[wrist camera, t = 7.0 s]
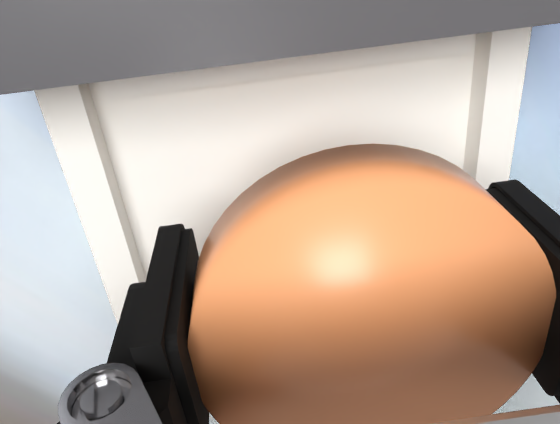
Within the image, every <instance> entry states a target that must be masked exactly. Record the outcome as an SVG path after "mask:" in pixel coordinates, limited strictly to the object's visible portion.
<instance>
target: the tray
mask: <svg viewBox="0 0 560 424" xmlns="http://www.w3.org/2000/svg"><path fill="white" fill-rule="evenodd" d="M531 30H532V27H524V28H517V29H509V30H501V31H493V32H485V33H478V34H470V35H462V36H454V37H446V38H439V39H431V40H423V41H415V42H407V43H399V44H392V45H384V46H376V47H368V48H360V49H353V50H345V51H337V52H329V53H321V54H314V55H306V56H298V57H290V58H282V59H275V60H267V61H259V62H251V63H243V64H236V65H228V66H220V67H212V68H204V69H196V70H189V71H181V72H173V73H165V74H157V75H150V76H142V77H134V78H126V79H118V80H111V81H103V82H95V83H87V84H79V85H72V86H64V87H56V88H48V89H40V90H34V91H35V94H36V97H37V100H38V103H39V105H40V108H41V111H42V114H43V117H44V119H45V122H46V125H47V128H48V131H49V133H50V136H51V139H52V142H53V145H54V147H55V150H56V153H57V156H58V159H59V161H60V164H61V167H62V170H63V173H64V175H65V178H66V181H67V184H68V187H69V190H70V192H71V195H72V198H73V201H74V204H75V206H76V209H77V212H78V215H79V218H80V220H81V223H82V226H83V229H84V232H85V234H86V237H87V240H88V243H89V246H90V248H91V251H92V254H93V257H94V260H95V262H96V265H97V268H98V271H99V274H100V276H101V279H102V282H103V285H104V288H105V290H106V293H107V296H108V299H109V302H110V304H111V307H112V310H113V313H114V316H115V318H116V321H117V324H118V322H119V319H120V315H121V312H122V309H123V305H124V302H125V298H126V295H127V291H128V288H129V286H130V285H131V284H132V283H140V282H146V278H147V273H148V269H149V265H150V261H151V257H152V253H153V249H154V245H155V241H156V236H157V232H158V229H159V227H160V226H167V225H175V224H183V225H184V228H185V229H189V228H192V229H193V232H194V237H195V241H196V245H197V250H198V254H199V257H200V254H201V251H202V248H203V245H204V243H205V241H206V239H207V237H208V236H209V234H210V232H211V230H212V228H213V226H214V225H215V223H216V222H217V221H218V219H219V218H220V217H221V215H222V214H223V213H224V211H225V210H226V209H227V208H228V207H229V206H230V205H231V204H232V202H233V201H234V200H235V199H236V198H237V197H238V196H239V195H240V194H241V193H242V192H244V191H245V190H246V189H248V188H249V187H250V186H251V185H253V184H254V183H255V182H256V181H258V180H259V179H260V178H262V177H264V176H265V175H267V174H269V173H270V172H272V171H273V170H275V169H277V168H278V167H280V166H283V165H285V164H287V163H289V162H291V161H294V160H296V159H298V158H300V157H303V156H306V155H309V154H312V153H315V152H319V151H322V150H325V149H330V148H336V147H341V146H346V145H357V144H389V145H399V146H404V147H409V148H414V149H419V150H422V151H425V152H428V153H431V154H434V155H436V156H439V157H441V158H443V159H445V160H447V161H449V162H451V163H453V164H455V165H457V166H458V167H459V168H461V169H462V170H464V171H465V172H466V173H468V174H469V175H470V176H472V177H473V178H474V179H475V180H476V181H477V182H478V183H479V184H480V185H481V186H482V187H483V188H484V189H488V187H489V185H490V184H491V183H493V182H501V181H508V180H509V175H510V169H511V162H512V155H513V149H514V142H515V136H516V129H517V123H518V116H519V109H520V103H521V96H522V90H523V83H524V77H525V70H526V63H527V57H528V50H529V44H530V37H531Z"/></svg>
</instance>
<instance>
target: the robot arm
mask: <svg viewBox="0 0 560 424" xmlns="http://www.w3.org/2000/svg"><path fill="white" fill-rule="evenodd" d="M485 190H486V191H487V192H488V193H489V194H490V195H491V196H493V197H494V198H495V199H496V200H497V201H498V202H499V203H500V204H501V205H502V206H503V207H504V208H505V209H506V210H507V211H508V212H509V213H510V214H511V215H512V216H513V217H514V218H515V219H516V220H517V221H518V222H519V223H520V224H521V225H522V226H523V227H524V228H525V229H526V230H527V231H528V232H529V233H530V234H531V235H532V236H533V237H534V238H535V240H536V241H537V243H538V244H539V246H540V247H541V249H542V250H543V252H544V254H545V255H546V258H547V260H548V263H549V265H550V267H551V270H552V273H553V278H554V282H555V287H556V300H555V304H554V309H553V313H552V317H551V321H550V326H549V330H548V334H547V338H546V343H545V347H544V351H543V355H542V357H541V359H540V361H539V362H538V364H537V365H536V367H535V369H534V370H533V372H532V374H533V375H534V377H535V378H536V379H537V381H538V382H539V384H540V385H541V387H542V388H543V390H544V391H545V392H546V393H547V394H548V395H550V396H555V397H556V399H557V400H558V402H559V403H560V216H559V215H558V214H557V213H556V212H555V211H554V210H552V209H551V208H550V207H549V206H548V205H546V204H545V203H544V202H543V201H542V200H541V199H539V198H538V197H537V196H536V195H535V194H533V193H532V192H531V191H530V190H529V189H528V188H526V187H525V186H524V185H523V184H522V183H520V182H519V181H518V180H508V181H501V182H493V183H491V184H490V185H489V187H488V189H485ZM198 260H199V254H198V250H197V245H196V241H195V237H194V232H193V229H192V228H189V229H185V228H184V225H183V224H175V225H167V226H160V227H159V229H158V232H157V236H156V241H155V245H154V249H153V253H152V257H151V261H150V265H149V269H148V273H147V278H146V282H140V283H132V284H131V285H130V286H129V288H128V291H127V295H126V298H125V302H124V305H123V309H122V312H121V315H120V319H119V322H118V326H117V329H116V333H115V336H114V340H113V343H112V347H111V350H110V354H109V357H108V361H107V364H101V365H99V366H96V367H93V368H91V369H89V370H87V371H85V372H84V373H82V374H80V375H79V376H78V377H76V378H75V379H74V380H73V381H72V382H71V383H70V384H69V385H68V386H67V388H66V389H65V390H64V392H63V393H62V395H61V398H60V400H59V403H58V416H59V419H60V422H58V423H57V424H209V411H208V410H207V409H206V407H205V406H204V404H203V402H202V399H201V396H200V392H199V388H198V384H197V381H196V377H195V373H194V370H193V366H192V362H191V358H190V355H189V351H188V333H189V325H190V316H191V307H192V298H193V289H194V280H195V274H196V269H197V263H198ZM430 424H560V405H555V406H548V407H541V408H533V409H526V410H520V411H513V412H506V413H499V414H492V415H485V416H478V417H471V418H464V419H458V420H451V421H444V422H437V423H430Z"/></svg>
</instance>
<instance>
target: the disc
mask: <svg viewBox="0 0 560 424" xmlns="http://www.w3.org/2000/svg"><path fill="white" fill-rule="evenodd" d="M555 300H556V287H555V282H554V278H553V273H552V270H551V267H550V265H549V263H548V260H547V258H546V255H545V254H544V252H543V250H542V249H541V247H540V246H539V244H538V243H537V241H536V240H535V238H534V237H533V236H532V235H531V234H530V233H529V232H528V231H527V230H526V229H525V228H524V227H523V226H522V225H521V224H520V223H519V222H518V221H517V220H516V219H515V218H514V217H513V216H512V215H511V214H510V213H509V212H508V211H507V210H506V209H505V208H504V207H503V206H502V205H501V204H500V203H499V202H498V201H497V200H496V199H495V198H494V197H493V196H491V195H490V194H489V193H488V192H487V191H486V190H485V189H484V188H483V187H482V186H481V185H480V184H479V183H478V182H477V181H476V180H475V179H474V178H473V177H472V176H470V175H469V174H468V173H466V172H465V171H464V170H462V169H461V168H459V167H458V166H457V165H455V164H453V163H451V162H449V161H447V160H445V159H443V158H441V157H439V156H436V155H434V154H431V153H428V152H425V151H422V150H419V149H414V148H409V147H404V146H399V145H389V144H357V145H346V146H341V147H336V148H330V149H325V150H322V151H319V152H315V153H312V154H309V155H306V156H303V157H300V158H298V159H296V160H294V161H291V162H289V163H287V164H285V165H283V166H280V167H278V168H277V169H275V170H273V171H272V172H270V173H269V174H267V175H265V176H264V177H262V178H260V179H259V180H258V181H256V182H255V183H254V184H253V185H251V186H250V187H249V188H248V189H246V190H245V191H244V192H242V193H241V194H240V195H239V196H238V197H237V198H236V199H235V200H234V201H233V202H232V204H231V205H230V206H229V207H228V208H227V209H226V210H225V211H224V213H223V214H222V215H221V217H220V218H219V219H218V221H217V222H216V223H215V225H214V226H213V228H212V230H211V232H210V234H209V236H208V237H207V239H206V241H205V243H204V245H203V248H202V251H201V254H200V257H199V260H198V263H197V269H196V274H195V280H194V289H193V298H192V307H191V316H190V325H189V333H188V351H189V355H190V358H191V362H192V366H193V370H194V373H195V377H196V381H197V384H198V388H199V392H200V396H201V399H202V402H203V404H204V406H205V407H206V409H207V410H208V411H209V412H210V414H211V415H212V416H213V417H214V418H215V420H216V421H217V422H219V423H220V424H430V423H437V422H444V421H451V420H458V419H464V418H471V417H478V416H485V415H491V414H492V413H494V412H495V411H496V410H497V409H499V408H500V407H501V406H502V405H503V404H504V403H506V402H507V401H508V400H509V399H510V398H511V397H512V396H513V395H514V394H515V393H516V392H517V391H518V389H519V388H520V387H521V386H522V385H523V383H524V382H525V381H526V380H527V379H528V377H529V376H530V375H531V373H532V372H533V370H534V369H535V367H536V365H537V364H538V362H539V361H540V359H541V357H542V355H543V351H544V347H545V343H546V338H547V334H548V330H549V326H550V321H551V317H552V313H553V309H554V304H555Z"/></svg>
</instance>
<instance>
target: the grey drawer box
mask: <svg viewBox="0 0 560 424" xmlns="http://www.w3.org/2000/svg"><path fill="white" fill-rule="evenodd" d="M556 23H560V0H0V95H1V94H9V93H17V92H25V91H32V90H40V89H48V88H56V87H64V86H72V85H79V84H87V83H95V82H103V81H111V80H118V79H126V78H134V77H142V76H150V75H157V74H165V73H173V72H181V71H189V70H196V69H204V68H212V67H220V66H228V65H236V64H243V63H251V62H259V61H267V60H275V59H282V58H290V57H298V56H306V55H314V54H321V53H329V52H337V51H345V50H353V49H360V48H368V47H376V46H384V45H392V44H399V43H407V42H415V41H423V40H431V39H439V38H446V37H454V36H462V35H470V34H478V33H485V32H493V31H501V30H509V29H517V28H524V27H532V26H540V25H548V24H556Z"/></svg>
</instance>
